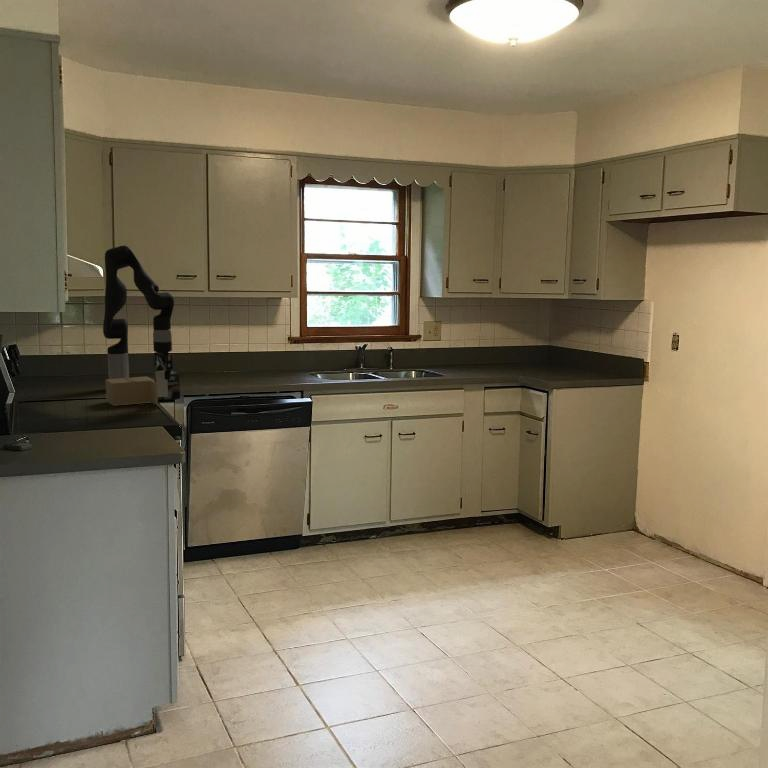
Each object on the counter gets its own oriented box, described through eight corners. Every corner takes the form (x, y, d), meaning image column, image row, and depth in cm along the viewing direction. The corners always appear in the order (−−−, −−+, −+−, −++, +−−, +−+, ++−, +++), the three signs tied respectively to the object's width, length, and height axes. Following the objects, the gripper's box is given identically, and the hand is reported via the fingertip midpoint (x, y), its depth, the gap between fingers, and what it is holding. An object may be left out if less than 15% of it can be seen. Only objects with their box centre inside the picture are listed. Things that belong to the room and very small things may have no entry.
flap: (155, 406, 350) (154, 371, 347) (151, 403, 357) (150, 369, 354) (168, 405, 352) (167, 371, 350) (163, 402, 359) (162, 368, 357)
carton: (106, 402, 359) (105, 379, 357) (147, 398, 368) (147, 376, 367) (113, 406, 349) (112, 383, 347) (155, 403, 358) (154, 379, 357)
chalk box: (172, 395, 377) (171, 363, 375) (181, 398, 370) (180, 365, 368) (153, 397, 371) (151, 364, 369) (161, 400, 364) (160, 367, 362)
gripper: (147, 339, 352) (148, 376, 354) (160, 342, 340) (161, 381, 343) (164, 338, 356) (165, 375, 359) (177, 341, 345) (178, 379, 348)
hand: (163, 378), depth 351 cm, fingers open, 8 cm apart
